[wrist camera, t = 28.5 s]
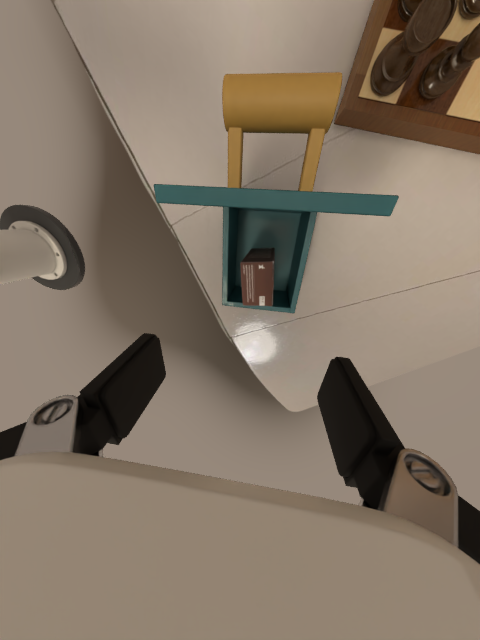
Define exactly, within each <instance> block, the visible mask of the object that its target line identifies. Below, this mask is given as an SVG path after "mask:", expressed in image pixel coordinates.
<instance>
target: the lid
mask: <svg viewBox="0 0 480 640" xmlns="http://www.w3.org/2000/svg"><path fill="white" fill-rule="evenodd" d="M341 84H342V73H341V72H337V73H271V74H226V75H225V76H224V80H223V92H222V101H223V116H224V124H225V128H226V131H227V132H228V188H226V187H205V186H184V185H163V184H154V190H155V195H156V201H157V203H168V204H186V205H203V206H220V207H238V208H255V209H272V210H289V211H307V212H324V213H341V214H359V215H376V216H390V215H391V214H392V211H393V209H394V207H395V204H396V202H397V200H398V198H399V196H396V195H375V194H354V193H332V192H312V191H313V186H314V181H315V177H316V172H317V168H318V163H319V158H320V154H321V149H322V145H323V140H324V135H325V134H326V133H327V132H328V130H329V128H330V126H331V123H332V120H333V117H334V114H335V110H336V107H337V103H338V99H339V94H340V90H341ZM243 132H246V133H305V134H308V140H307V145H306V151H305V156H304V162H303V167H302V173H301V178H300V184H299V189H298V191H290V190H269V189H248V188H241V182H242V156H243Z"/></svg>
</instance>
